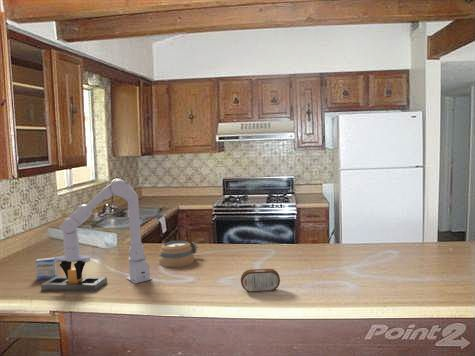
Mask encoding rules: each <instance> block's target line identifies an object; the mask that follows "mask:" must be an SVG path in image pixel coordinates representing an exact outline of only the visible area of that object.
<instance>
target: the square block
mask: <svg viewBox="0 0 475 356" xmlns="http://www.w3.org/2000/svg"><path fill="white" fill-rule="evenodd" d="M67 272H68V283H78V282H79V281H81V280H82V277H83V275H82V276H81V278H80V279H77V275H76V269H75V266H73V267H71V269H69V270H67Z"/></svg>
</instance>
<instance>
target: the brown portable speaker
mask: <svg viewBox="0 0 475 356" xmlns="http://www.w3.org/2000/svg"><path fill="white" fill-rule="evenodd" d="M280 277H281V276H280V275H279V273H278V271H276V270H275V269H273V268H258V269H256V268H255V269H247V270H245V271H244V272H242V275H241V276H240V283H241V287H242V289H243V290H245V291H246V292H247V293H248V292H249V293H259V292H262V293H264V292H265V293H266V292H273V291H275V290H276V289H278V287H279V286H280V283H281V278H280Z"/></svg>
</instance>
